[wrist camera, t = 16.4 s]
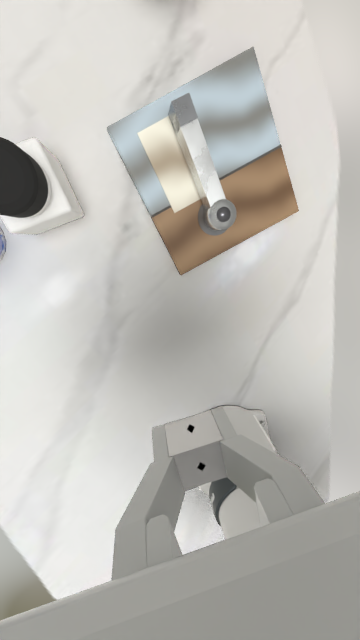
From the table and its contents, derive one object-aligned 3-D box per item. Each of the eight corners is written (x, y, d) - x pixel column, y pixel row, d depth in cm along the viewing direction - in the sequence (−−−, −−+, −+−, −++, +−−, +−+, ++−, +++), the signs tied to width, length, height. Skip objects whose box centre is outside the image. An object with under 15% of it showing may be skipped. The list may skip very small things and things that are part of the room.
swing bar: (231, 223, 34) (241, 221, 31) (209, 234, 34) (216, 234, 31) (189, 103, 29) (195, 87, 26) (162, 117, 29) (165, 102, 26)
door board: (293, 211, 37) (299, 210, 36) (179, 273, 37) (181, 275, 36) (249, 53, 30) (254, 45, 28) (107, 131, 30) (106, 126, 29)
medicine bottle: (57, 157, 30) (10, 109, 19) (85, 216, 32) (58, 204, 21) (3, 178, 30) (-78, 141, 18) (35, 235, 32) (-19, 234, 21)
